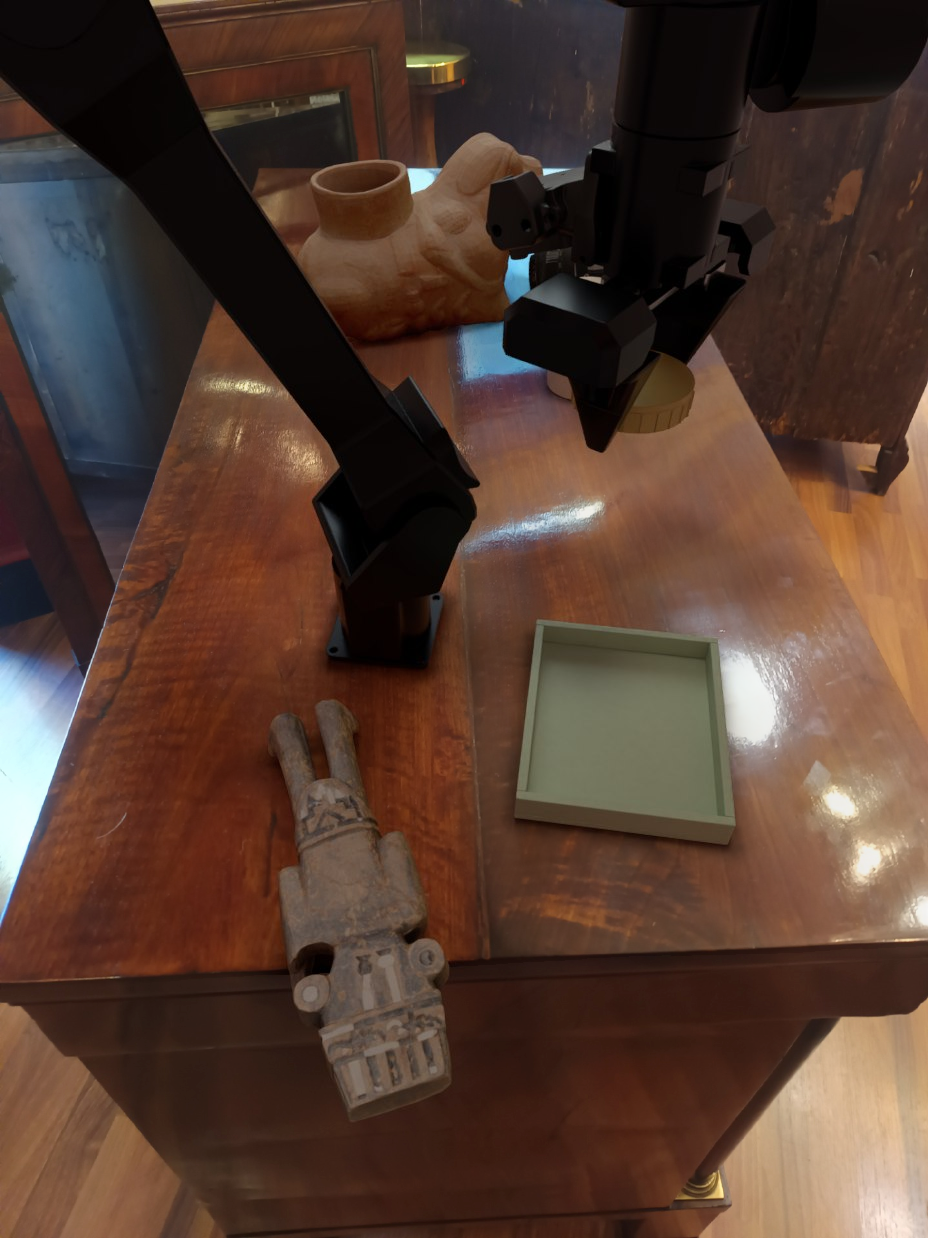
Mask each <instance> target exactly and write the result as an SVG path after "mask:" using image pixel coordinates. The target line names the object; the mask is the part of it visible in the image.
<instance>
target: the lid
mask: <svg viewBox="0 0 928 1238" xmlns="http://www.w3.org/2000/svg"><path fill="white" fill-rule="evenodd" d="M651 351H654V352H657V353H660V354H661V357H660V359H659V361H658V362H657V364H656V366H655V368H654V369H653V371H652V373H651V375H650V376H649V378H648V380H647V382H646V383H645V385H644V387H643V388H642V390H641V392H640V394H639V395H638V397H637V399H636V401H635V402H634V404H633V406H632V408H631V409H630V411H629V413H628V415H627V416H626V418H625V420H624V422H623V423H622V425H621V427H620V429H619V430H618V432H617V433H623V434H633V435H636V434H637V435H640V434H641V435H646V434H653V433H655V434H656V433H659V432H660V433H661V432H664V431H667V430H670V429H672V428H675V427H677V426H678V425H680V424H682V422H683V421H684V420H685V419H686V418H689V415H690V410H691V409H692V406H693V401H694V397H695V393H696V391H695V386H696V378H695V375H694V373H693V371H692V370H691V368H690V367H689V366H688V365H687V366H686V365H685V364H684V363H682V362H681V361H680V360H678V359H676V358H674V357H672V356H670V355H667V354H665V353H662V352H658V351H655V350H651ZM570 402H572V406H573V409H574V410H575V411H576V412H577V413H578V411H577V407H576V403H575V399H574V395H573V392H572V388H571V400H570Z"/></svg>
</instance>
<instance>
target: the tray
mask: <svg viewBox="0 0 928 1238" xmlns="http://www.w3.org/2000/svg"><path fill="white" fill-rule="evenodd" d="M534 631H535V632H534V639H533V640H534V641H533V648H532V655H531V657H532V658H531V663H530V664H531V665H530V674H529V682H528V691H527V698H526V707H525V715H524V716H525V717H524V724H523V732H522V740H521V751H520V759H519V766H518V775H517V784H516V793H515V801H514V813H513V814H514V815H513V817H514V818H515V819H523V820H530V821H537V822H546V823H552V824H560V825H561V824H562V825H569V826H576V827H584V828H590V829H591V828H592V829H599V830H606V831H607V830H608V831H616V832H622V833H631V834H632V833H633V834H640V835H647V836H655V837H660V838H661V837H662V838H670V839H678V840H684V841H685V840H686V841H693V842H700V843H708V844H709V843H710V844H715V845H725V846H728V844H729V842H730V840H731V837H732V835H733V833H734V831H735V828H736V826H737V824H736V813H735V812H736V811H735V803H734V793H733V781H732V771H731V761H730V760H731V759H730V752H729V751H730V750H729V740H728V730H727V720H726V719H727V718H726V708H725V700H724V699H725V697H724V690H723V689H724V687H723V679H722V667H721V658H720V657H721V656H720V646H719V639H718V638H719V637H715V636H705V635H694V634H685V633H674V632H665V631H658V630H657V631H655V630H647V629H637V628H629V627H628V628H627V627H617V626H608V625H607V626H606V625H597V624H588V623H579V622H568V621H559V620H549V619H539V618H537V619H536V624H535V630H534Z"/></svg>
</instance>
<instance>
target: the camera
mask: <svg viewBox="0 0 928 1238" xmlns="http://www.w3.org/2000/svg"><path fill="white" fill-rule="evenodd" d="M570 258H571V248H567V249H561V250H554V251H548V252H541V253H534V254H530V256H529V259H528V286H529V291H530V290H532V289H534V288H535V287H537V286H538V285H540V284H542V283H543V282H545V281H547V280H548V279H550V278H551V277H553V276H555V275H556V274H558V273H559V272H563V273H566V274H569V275H573V276H576V277H600V278H601V277H602V276H604V275H605V274H603V267H602V266H599V265H593V266H592V267H587V266H584V265H580V264H577V263H573V262H570Z"/></svg>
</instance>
